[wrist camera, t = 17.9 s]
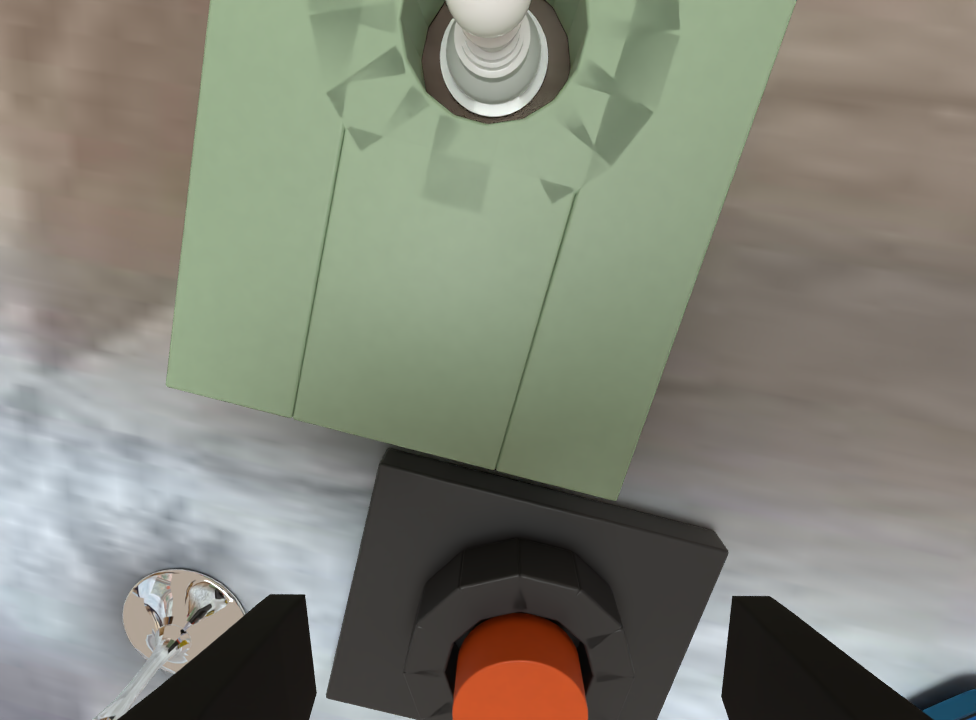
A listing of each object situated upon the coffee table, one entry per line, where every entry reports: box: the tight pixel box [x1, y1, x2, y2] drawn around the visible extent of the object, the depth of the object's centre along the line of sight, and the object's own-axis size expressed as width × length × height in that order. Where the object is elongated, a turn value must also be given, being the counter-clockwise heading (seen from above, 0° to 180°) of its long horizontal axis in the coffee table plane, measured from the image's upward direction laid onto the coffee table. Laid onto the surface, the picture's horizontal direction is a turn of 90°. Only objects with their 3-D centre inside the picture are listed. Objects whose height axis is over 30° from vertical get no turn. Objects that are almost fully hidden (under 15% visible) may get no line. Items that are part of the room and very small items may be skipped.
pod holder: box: [166, 0, 797, 501], centre depth 13 cm, size 12×14×3 cm
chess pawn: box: [440, 0, 548, 117], centre depth 12 cm, size 3×3×5 cm
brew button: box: [452, 613, 588, 720], centre depth 15 cm, size 4×4×2 cm
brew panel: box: [326, 449, 728, 720], centre depth 17 cm, size 11×9×3 cm
